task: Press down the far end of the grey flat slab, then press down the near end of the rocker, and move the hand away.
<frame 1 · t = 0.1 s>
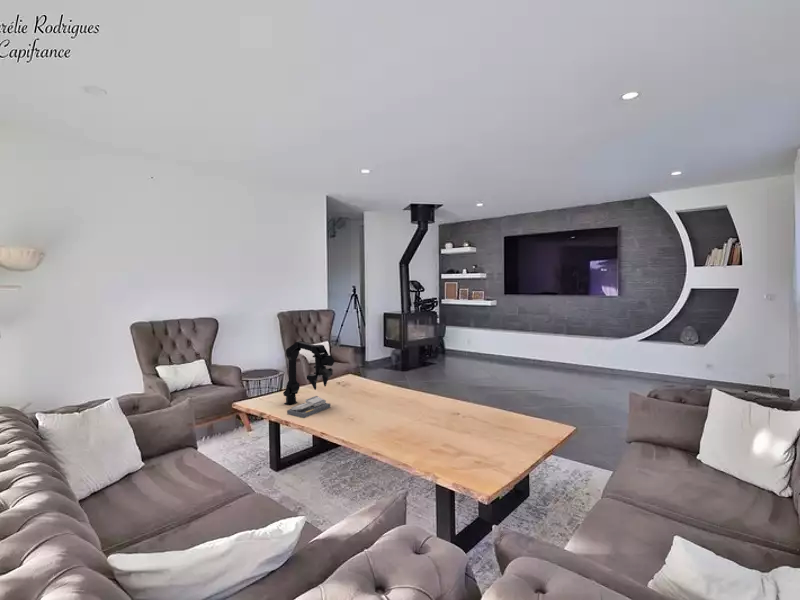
hand: (320, 388, 265), 14 cm above the table, fingers open, 9 cm apart
grey flat slab 1: (302, 406, 259), point 5 cm above the table, hinge at -13.0°
switch unit: (309, 410, 264), on the table
rocker 2: (315, 401, 269), point 5 cm above the table, hinge at 13.0°
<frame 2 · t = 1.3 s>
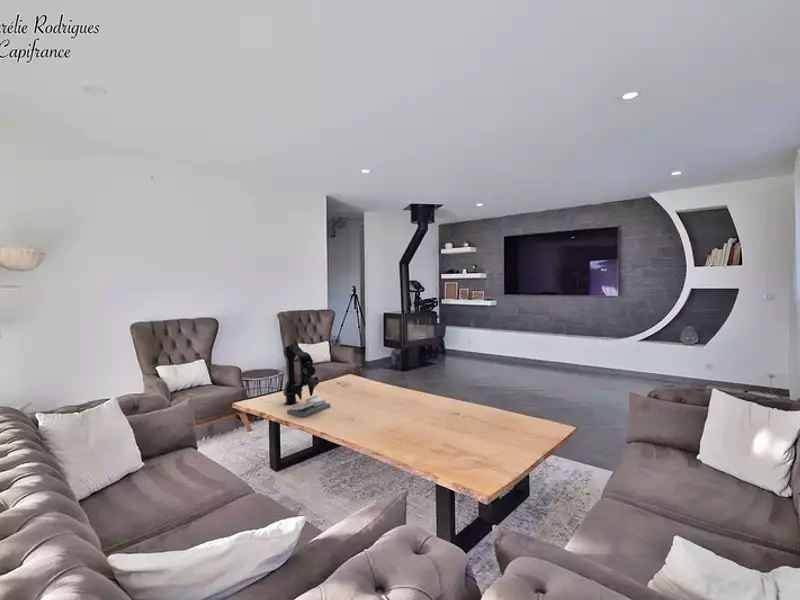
hand: (305, 397, 258), 10 cm above the table, fingers open, 9 cm apart
nothing on the table moved.
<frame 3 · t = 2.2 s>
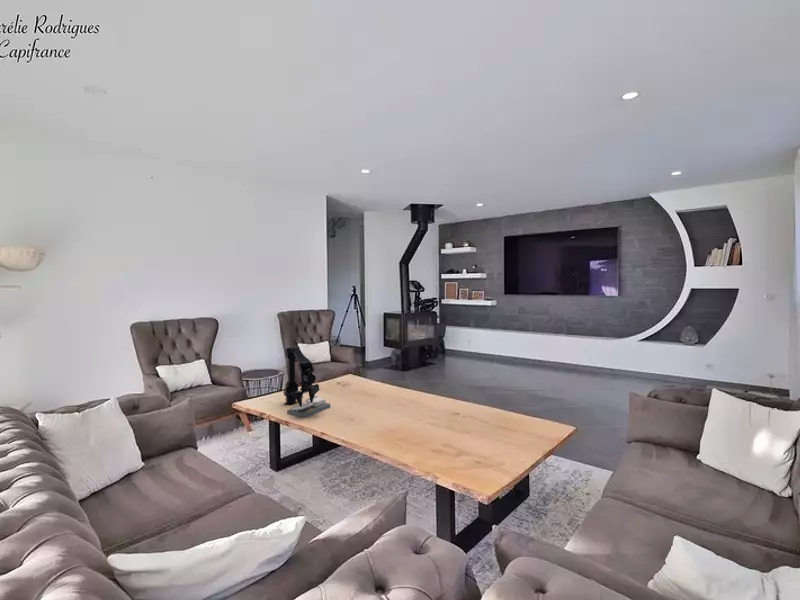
hand: (306, 404, 257), 6 cm above the table
grey flat slab 1: (302, 406, 259), point 5 cm above the table, hinge at -12.7°, touching gripper
everything else where it was.
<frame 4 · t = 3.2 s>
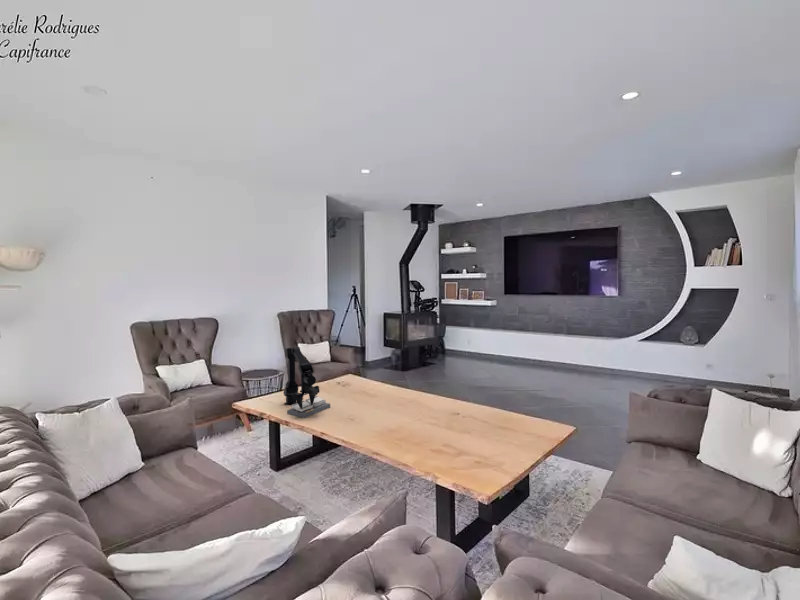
hand: (306, 406, 257), 5 cm above the table, fingers open, 9 cm apart
grey flat slab 1: (302, 406, 259), point 5 cm above the table, hinge at 9.7°
everything else where it was.
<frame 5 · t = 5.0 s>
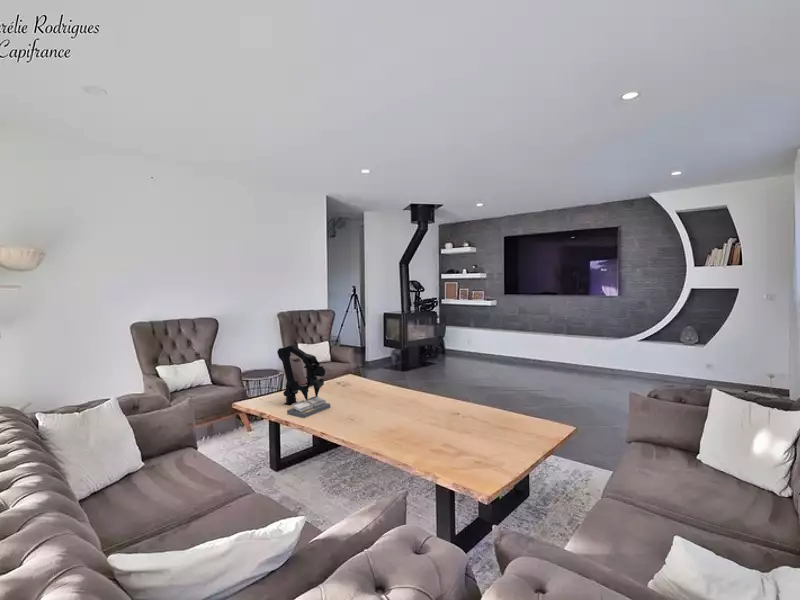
hand: (311, 398, 271), 6 cm above the table
grey flat slab 1: (302, 406, 259), point 5 cm above the table, hinge at 15.4°
rocker 2: (315, 401, 269), point 5 cm above the table, hinge at 13.0°, touching gripper
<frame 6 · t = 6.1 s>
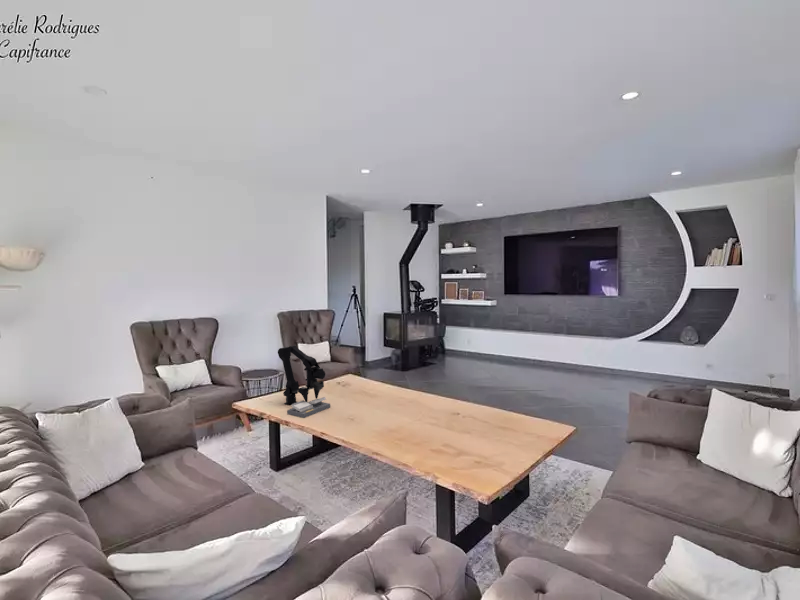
hand: (311, 400, 271), 5 cm above the table, fingers open, 9 cm apart
rocker 2: (315, 401, 269), point 5 cm above the table, hinge at -17.6°, touching switch unit
everything else where it was.
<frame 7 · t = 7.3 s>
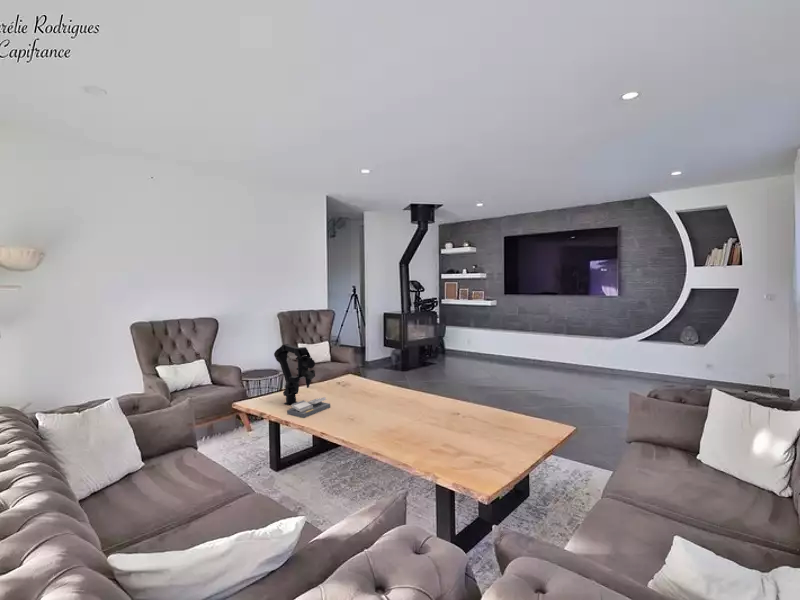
hand: (302, 389, 271), 12 cm above the table, fingers open, 9 cm apart
rocker 2: (315, 401, 269), point 5 cm above the table, hinge at -15.0°
everything else where it was.
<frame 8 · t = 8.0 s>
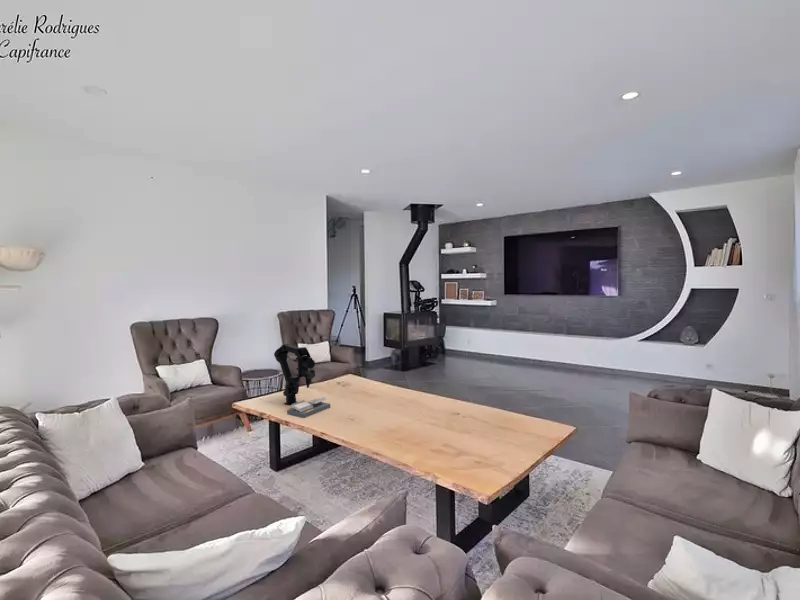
hand: (302, 389, 271), 12 cm above the table, fingers open, 9 cm apart
nothing on the table moved.
at the end: grey flat slab 1 at +16° (first picture: -13°); rocker 2 at -15° (first picture: +13°) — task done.
